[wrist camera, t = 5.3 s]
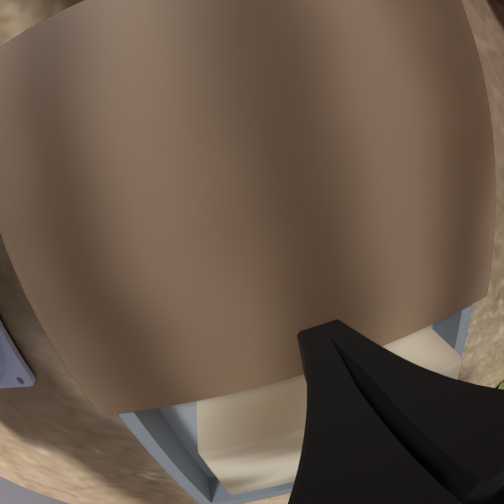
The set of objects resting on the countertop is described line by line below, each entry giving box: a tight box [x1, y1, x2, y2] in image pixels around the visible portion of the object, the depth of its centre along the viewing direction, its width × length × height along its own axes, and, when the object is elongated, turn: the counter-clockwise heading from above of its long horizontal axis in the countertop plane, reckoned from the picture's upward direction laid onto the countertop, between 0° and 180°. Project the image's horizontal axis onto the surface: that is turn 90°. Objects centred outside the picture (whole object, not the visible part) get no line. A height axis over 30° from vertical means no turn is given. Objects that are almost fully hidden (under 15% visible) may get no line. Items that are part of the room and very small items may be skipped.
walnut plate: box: [0, 0, 496, 415], centre depth 10 cm, size 18×14×3 cm
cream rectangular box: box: [197, 326, 463, 495], centre depth 12 cm, size 10×5×4 cm
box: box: [118, 304, 472, 504], centre depth 15 cm, size 17×11×2 cm
